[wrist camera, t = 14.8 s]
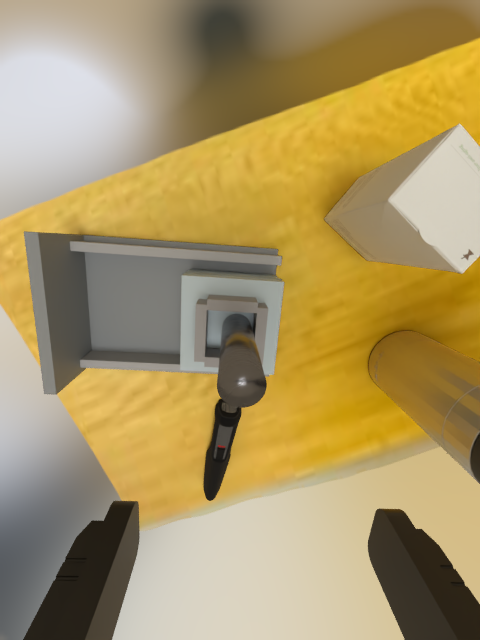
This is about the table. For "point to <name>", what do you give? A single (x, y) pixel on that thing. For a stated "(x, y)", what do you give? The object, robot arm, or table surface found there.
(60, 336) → the bay
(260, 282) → the square socket block
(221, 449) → the electric trimmer
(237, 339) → the handle peg
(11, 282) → the table surface
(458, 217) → the skincare box
